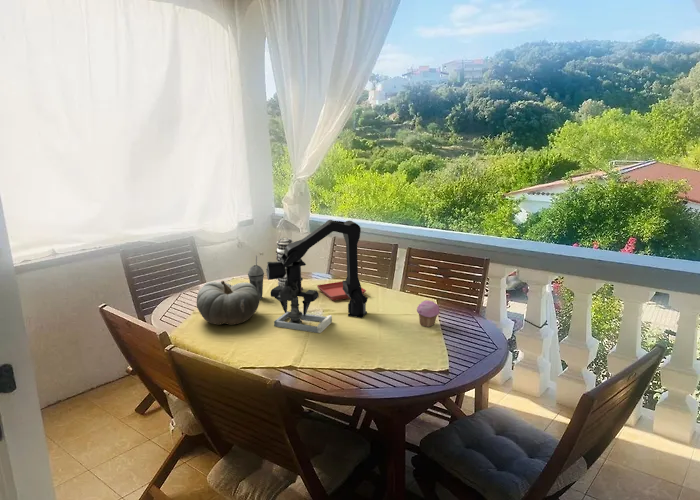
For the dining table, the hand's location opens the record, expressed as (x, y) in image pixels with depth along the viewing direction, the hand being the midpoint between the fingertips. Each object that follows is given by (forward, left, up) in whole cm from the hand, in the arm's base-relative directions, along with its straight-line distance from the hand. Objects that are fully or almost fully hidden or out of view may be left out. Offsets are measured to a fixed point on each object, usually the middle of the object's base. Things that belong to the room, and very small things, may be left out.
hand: (295, 313), depth 197 cm
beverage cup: (+30, -20, -4) cm, 36 cm away
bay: (-3, 0, -4) cm, 5 cm away
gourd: (+28, +5, -4) cm, 28 cm away
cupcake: (-50, -16, -4) cm, 53 cm away
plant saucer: (-4, -39, -5) cm, 40 cm away
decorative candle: (+23, -36, -4) cm, 43 cm away
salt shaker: (0, 0, -4) cm, 4 cm away
